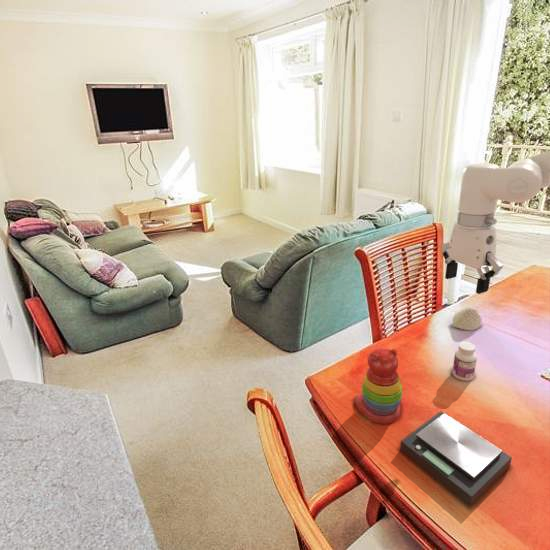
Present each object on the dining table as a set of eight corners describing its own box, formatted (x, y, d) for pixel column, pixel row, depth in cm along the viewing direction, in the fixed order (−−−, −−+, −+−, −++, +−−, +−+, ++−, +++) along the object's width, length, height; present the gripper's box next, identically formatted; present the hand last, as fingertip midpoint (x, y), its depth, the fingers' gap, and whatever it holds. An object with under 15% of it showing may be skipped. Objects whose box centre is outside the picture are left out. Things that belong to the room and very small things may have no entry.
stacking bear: (391, 391, 99) (394, 335, 92) (410, 420, 90) (416, 359, 82) (352, 399, 97) (352, 342, 90) (368, 429, 88) (369, 368, 81)
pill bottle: (452, 367, 106) (456, 338, 102) (473, 371, 104) (478, 342, 100) (451, 378, 102) (455, 349, 98) (473, 383, 99) (478, 353, 95)
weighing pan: (502, 453, 76) (502, 450, 75) (473, 480, 71) (474, 477, 71) (444, 415, 86) (444, 412, 85) (415, 437, 81) (416, 434, 81)
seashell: (491, 320, 121) (481, 317, 116) (471, 337, 125) (460, 335, 120) (473, 302, 127) (463, 299, 122) (455, 319, 130) (444, 316, 125)
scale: (509, 467, 76) (512, 456, 75) (469, 507, 70) (472, 495, 68) (439, 420, 89) (440, 410, 87) (400, 450, 82) (400, 439, 81)
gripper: (521, 224, 81) (507, 295, 88) (458, 208, 96) (450, 269, 103) (495, 231, 79) (483, 302, 86) (434, 213, 93) (428, 275, 100)
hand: (465, 284), depth 94 cm, fingers open, 9 cm apart
